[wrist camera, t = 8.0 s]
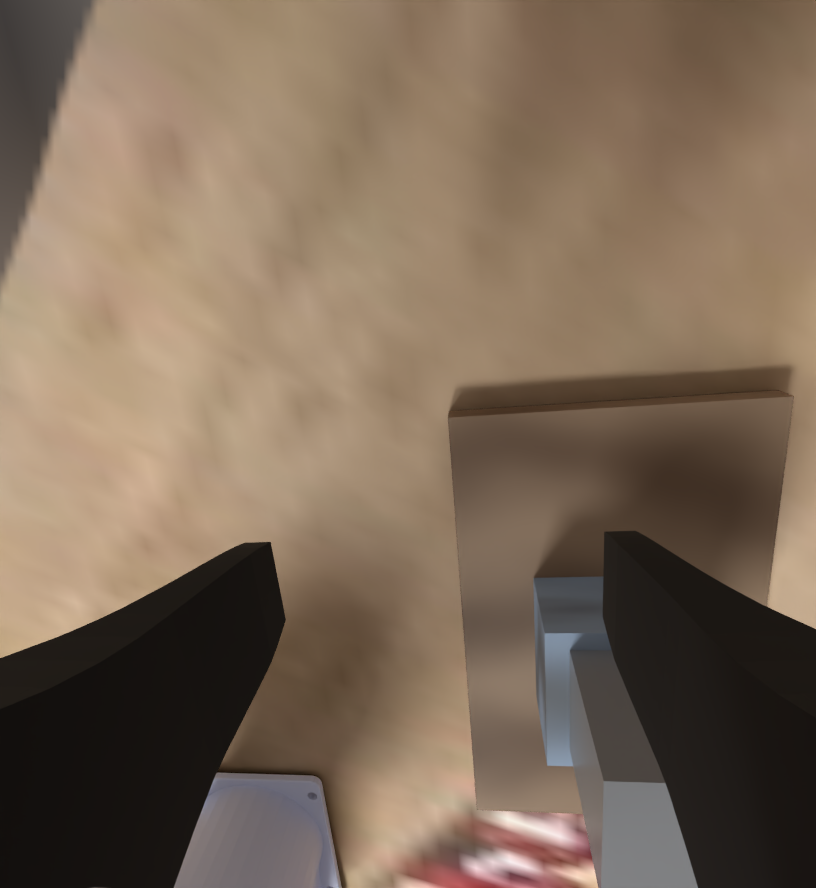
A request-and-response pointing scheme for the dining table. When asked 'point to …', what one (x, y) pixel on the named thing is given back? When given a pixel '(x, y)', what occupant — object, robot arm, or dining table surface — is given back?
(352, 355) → the dining table surface
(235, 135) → the dining table surface
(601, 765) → the gray brick
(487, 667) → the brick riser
